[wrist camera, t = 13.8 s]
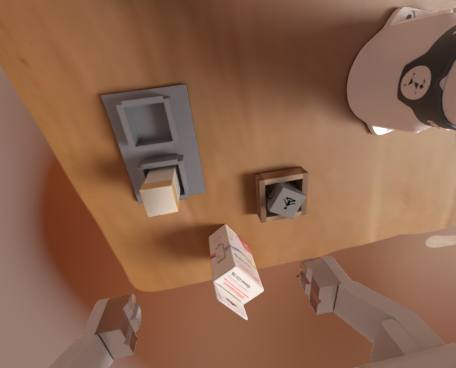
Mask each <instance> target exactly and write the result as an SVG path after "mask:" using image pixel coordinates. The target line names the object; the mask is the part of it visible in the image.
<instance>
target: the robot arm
mask: <svg viewBox="0 0 456 368" xmlns="http://www.w3.org/2000/svg"><path fill="white" fill-rule="evenodd" d="M406 18H407V20H406ZM347 99H348V103H349V106H350V108H351V110H352V112H353V113H354V114H355V115H356V116H357V117H358V118H359V119H361V120H362V121H364V122H365V123H366V124H367V126H368V128H369V130H370V132H371V133H372V134H374V135H382V134H385V133H387V132H390V131H393V130H397V131H403V132H409V133H419V132H420V131H422V130H425V129H428V128H430V127H436V128H439V129H444V130H456V8H454V9H450V10H444V11H440V12H434V11H429V10H423V9H417V8H411V7H402V8H398V9H396V10H395V11H394V12H393V13H392V14H391V16H390V17H389V19H388V20H387V22H386V24H385V25H384V27H383V28H382V29H381V31H380V32H378V33H377V34H376V35H375V36H374V37H373V38H372V39H370V40H369V41H368V42H367V43H366V45H365V46H364V47H363V48H362V49H361V51H360V52H359V54H358V55H357V57H356V59H355V61H354V63H353V65H352V67H351V70H350V73H349V77H348V82H347ZM300 268H301V269H302V271H301V272H300V283H301V286H302V289H303V291H304V293H305V294H307V295H308V296H310V299H309V302H310V304H311V306H312V307H313V309H314V311H315V313H316V314H322V313H327V312H333V311H334V313H335V314H337V315H338V316H339V317H340V318H342V319H343V320H344V321H345V322H347V323H348V324H349V325H350V326H352V327H353V328H354V329H355V330H357V331H358V332H359V333H360V334H362V335H363V336H364V337H366V338H367V339H368V340H369V341H370V342H372V343H373V344H374V346H373V349H372V352H371V355H370V359H371V360H372V362H373V363H370V364H366V365H362V366H358V367H355V368H456V343H452V344H448V345H446V344H445V343H444V342H443V341H442V340H441V339H440V338H439V337H438V336H437V335H436V334H435V333H434V332H433V331H432V330H431V329H430V328H429V327H428V326H427V325H426V324H425V323H424V322H423V321H422V320H421V319H420V318H419V317H418V315H417V314H416V313H414V312H413V311H411V310H409V309H407V308H405V307H403V306H401V305H399V304H397V303H396V302H394V301H392V300H390V299H388V298H386V297H384V296H382V295H380V294H379V293H377V292H375V291H373V290H371V289H369V288H367V287H365V286H364V285H362V284H360V283H358V282H356V281H354V282H353V281H352V280H351V279H350V278H349V277H348V275H347V274H346V273H345V272H344V270H343V269H342V268H341V267H340V266H339V264H338V263H337V262H336V261H335V259H334V258H333V257H332V256H326V257H321V258H315V259H310V260H305V261H301V263H300ZM135 302H136V298H135V296H134V294H133V295H126V296H119V297H114V298H109V299H103V300H99V301H98V302H97V303H96V304H95V306H94V308H93V311H92V313H91V315H90V317H89V320H88V322H87V324H86V327H85V329H84V331H83V334H82V336H81V338H79V339H76V340H75V341H74V342H73V343H72V344H71V345H70V346H69V347H68V348H67V349H66V350H65V351H64V352H63V353H62V354H61V355H60V356H59V358H57V359H56V360H55V362H54V363H53V364H52V365H51V366H50V367H49V368H109V367H110V365H111V364H112V362H113V360H114V359H118V358H122V357H126V356H129V355H133V354H134V351H135V346H136V342H137V336H136V334H135V333H136V331H137V330H138V329H139V327H140V323H141V310H140V307H139V305H137V304H135Z"/></svg>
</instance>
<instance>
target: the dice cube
mask: <svg viewBox="0 0 456 368" xmlns="http://www.w3.org/2000/svg"><path fill="white" fill-rule="evenodd" d="M306 197H307V196H306V195H305V194H304V193H303V192H302V191H301V190H300V189H299V188H298V187H297V186H296V185H294V184H292V183H289V182H287V181H286V182H280V183H274V184H269V185H268V187H267V189H266V191H265V198H266V206H267V208H268V210H269V211H270V212H273V213H276V214H279V215H282V216H285V217H288V218H291V219H292V218H293V217H294V215H295V214H296V212H297V211H298V209H299V208H300V206H301V205H302V203H303V202H304V200H305V198H306Z"/></svg>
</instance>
